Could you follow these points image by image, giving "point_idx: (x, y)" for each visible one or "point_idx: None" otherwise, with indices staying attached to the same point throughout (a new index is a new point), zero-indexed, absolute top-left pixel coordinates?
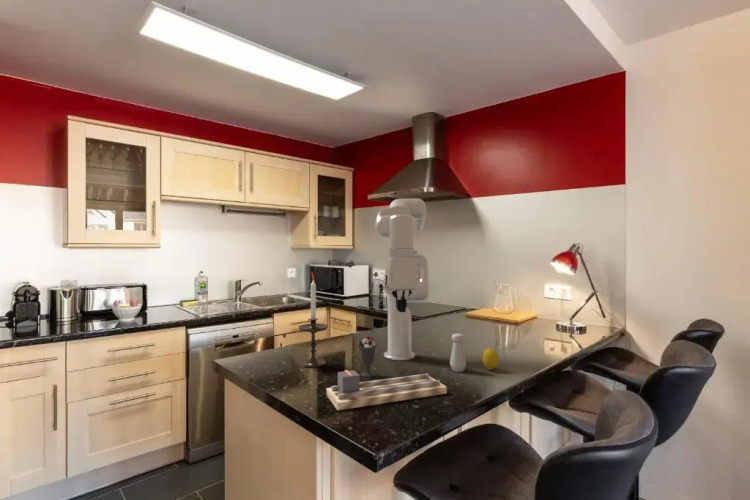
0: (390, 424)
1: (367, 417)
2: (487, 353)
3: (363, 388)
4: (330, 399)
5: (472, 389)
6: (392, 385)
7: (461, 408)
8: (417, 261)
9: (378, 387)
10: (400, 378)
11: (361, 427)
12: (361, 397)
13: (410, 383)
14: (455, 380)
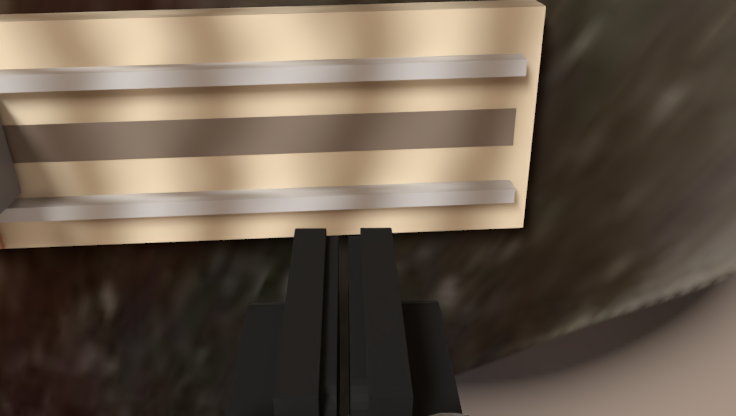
0: (139, 395)
1: (59, 327)
2: None
3: (58, 110)
4: None
5: (669, 203)
6: (244, 121)
7: (467, 358)
8: None
9: (151, 126)
10: (315, 81)
11: (25, 388)
12: (32, 226)
13: (360, 126)
14: (697, 52)
